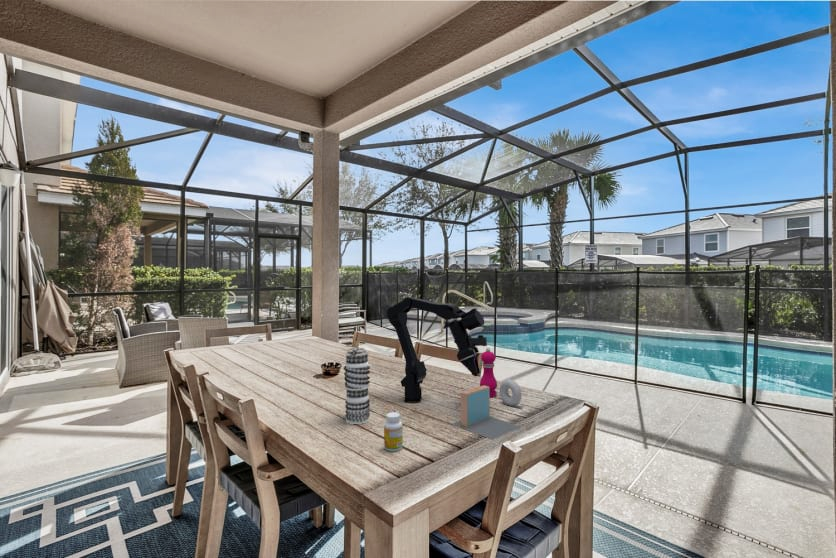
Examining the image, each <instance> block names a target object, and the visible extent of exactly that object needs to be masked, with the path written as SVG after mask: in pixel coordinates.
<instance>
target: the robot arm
mask: <svg viewBox="0 0 836 558" xmlns="http://www.w3.org/2000/svg"><path fill="white" fill-rule="evenodd" d="M412 309H416V310H419V311H420V310H421V311H424V312H427V313H432V314H435V315H436V316H437V317H439V318H441V319H443V320H446V321H445V322H444V326H443V329H449V331H450V333H451V334H452V335H451V336H452V338H453V342H454V344H455V345H456V347H457V351H458V352H457V354H456V358H457V360H458V361H459V362H460V363H461V364H462V365H463V366H464V367H465V368H466V369H467V370H468V371H469V372H470V373H471V374H472V376H474V377H478V375H479V374H481V371H480V366H479V360H478V357H479V354H480V353H479V352H480V351H479V348H478V347H487V346H488V337H487V336H485V337H484V335H483V334H478V335H477V337H472V336H471V334H469V332H468V331H470V332H471V331H473V330H474V329H477V328H480V327H482V326H483V325H485V318H484V316H483V315H482V314H481V312H480V311H479V310H478V309H477V308H476V307H475V308H471V309H470V310H469V311H467V312H465V311H464V310H462V309H461V308H460V306H459V305H458V304H457V303H456V304H455V303H438V302H433V301H429V300H425V299H422V298H417V297H415V296H407V297H405V298H404V299H402V300H401V301H399V302H398V303H396V304H394V305H393V306H390V307H388V308H387V310H386V313H385V314H386V318H387V320H388V321H389V324H391V326H392V327H393V328H394V329H395V332H396V335H397V338H398V341H399V345H400V347H401V351H402V355H403V358H404V362H405V366H404V372H405V375H404V377H403V378H402V379H401V380H400V385H401V387H403V388H404V398H403V399H404V400H403V402H404V403H421V400H422V397H423V396H422V395H423V394H422V391H423V390H422V387H421V384H423V382H424V380H425V378H426V377H427V370H428V369H427V368H426V364H425V362H424V360H422V361H421V360H420V359H419V358H418V357H417V353H416V350H415V347H414V344H413V340H412V337H411V335H410V332H409V327H408V325H407V324H408V313H410V312H411V310H412ZM458 319H460V320H458ZM449 320H451V321H449Z"/></svg>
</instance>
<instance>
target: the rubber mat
mask: <svg viewBox="0 0 836 558" xmlns="http://www.w3.org/2000/svg"><path fill="white" fill-rule="evenodd" d="M452 425H454V426H456V427H458V428H461V429H463V430H466V431H468V432H471V433H474V434H477V435H478V436H482V437H484V438H486V439H489V440H492V441H493V440H495V439H497V438H500V437H502V436H503V435H506V434H508V433H510V432H512V431H514V430H516V429H518V428H521V425H517V424H514V423H512V422H509V421H505V420H502V419H499V418H496V417H494V416H491V415H490V418H489V419H487V420H484V421H482V422H479V423H477V424H474V425H472V426H469V427H464V426H462V425H461V420H459V421H456V422H453V423H452Z"/></svg>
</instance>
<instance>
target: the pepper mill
mask: <svg viewBox="0 0 836 558" xmlns="http://www.w3.org/2000/svg"><path fill="white" fill-rule="evenodd" d="M480 359H481V361H482V363H481V364H482V365H481V366H482V367H483V368H482V369H483V374H482V376H481V378H480V381H479V387H480V386H483V385H485V386H488V387H489V391H490V398H495V397H496V396H497V391H496V390H497V388H498V382H497V380H496V377H495V374H494V367H495V361H496V354H495V353H494V352H493V351H491V348H490V347H487V348H485V351H483V352H482V353H481V356H480Z"/></svg>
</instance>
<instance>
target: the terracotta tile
mask: <svg viewBox="0 0 836 558" xmlns="http://www.w3.org/2000/svg"><path fill="white" fill-rule="evenodd" d="M490 398H491V397H490V391H489V387H488V386H485V385H483V386H480V385H479V386H477V387H473V388H471V389H467V390H464V391H461V392H460V421H461V425H462V426H464V427H469V426H472V425H474V424H477V423H479V422H482V421H484V420H487V419H489V418H490V416H491V415H490V414H491V413H490V411H491V410H490V408H491V407H490V406H491V405H490V404H491V403H490V402H491V401H490Z"/></svg>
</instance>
